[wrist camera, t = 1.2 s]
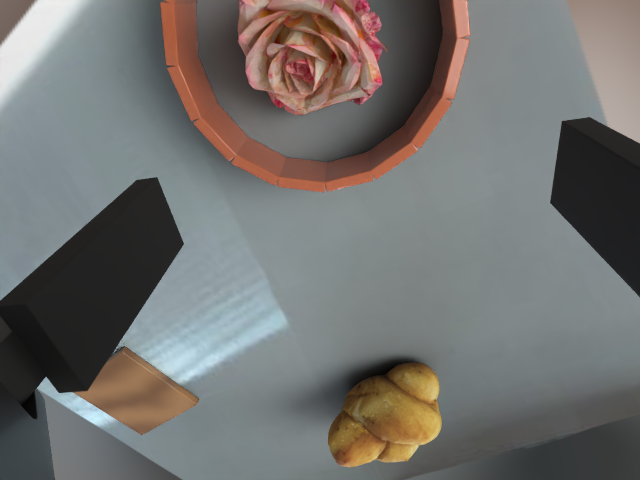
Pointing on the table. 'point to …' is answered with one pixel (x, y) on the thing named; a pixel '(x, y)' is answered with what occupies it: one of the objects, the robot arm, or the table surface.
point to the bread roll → (387, 417)
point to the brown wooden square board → (137, 393)
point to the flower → (311, 51)
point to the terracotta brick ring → (300, 172)
